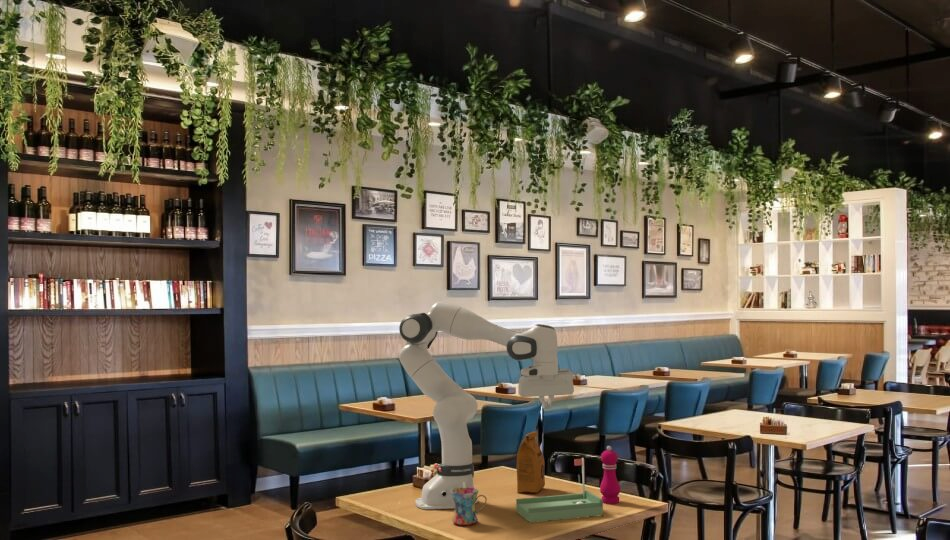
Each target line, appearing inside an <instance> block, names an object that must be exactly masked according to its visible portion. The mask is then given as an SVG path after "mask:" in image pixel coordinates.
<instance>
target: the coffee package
mask: <svg viewBox="0 0 950 540" xmlns="http://www.w3.org/2000/svg"><path fill="white" fill-rule="evenodd" d="M537 436H538V432H536V431H532V432H529V433H527V434H525V436H524V439H522V441H521V443H520V445H519V448H518V450H517V454H516V455H517V456H516V481H517V483H516V484H517V485H516V489H517V490H516V492H517V493H518V494H519V493H520V494H521V493H522V494H524V493H525V494H528V492H529V494H530V493H531V494H534V493H538V492H540V491H542V490H543V489H544V488H545V485H546V477H545V458H544V454H543V451H542V450H541V448H540V446H539V445H538V442H537V440H536V438H535V437H537Z"/></svg>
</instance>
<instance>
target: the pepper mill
mask: <svg viewBox="0 0 950 540" xmlns="http://www.w3.org/2000/svg"><path fill="white" fill-rule="evenodd" d="M618 459H619V458H618V454H617V452H616V451H614V450H612V446H611V445H607V446H606V450H604V451H603V452H602V453H601V455H600V460H601V462H602V469H603V477H602V480H601V482H600V486H599V487H600V488H599V492H600V493H601V495H602V496H601V499H603V504H605V503H606V505H616V504H619V503H620V496H619V495H620V493H621V486H620V483H619V481H618V478H617V475H616V469H617V468H618V467H617V462H618Z"/></svg>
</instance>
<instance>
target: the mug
mask: <svg viewBox="0 0 950 540" xmlns="http://www.w3.org/2000/svg"><path fill="white" fill-rule="evenodd" d="M450 492H451V494H452V497H453V500H454V505H455V508H454V514H453V518H452V519H451V521H452V523H453V524H456V525H459V526H460V525H461V526H469V525H473V524H476V523H477V522H478V520H479V519H478V517H477V516H478V515H479V513H478V512H479V511H480V510H482V509H483V508H484V507H485V506H486V503H487V496H485V495H484V494H480V495H478V493H479V489H477V488H475V487H474V488H468V487H464V488H455V489H452V490H451V491H450ZM480 497H483V498H484V503H483V505H482V506H481V507H480V508H478V509H476V503H475V501H477V502H478V498H480Z"/></svg>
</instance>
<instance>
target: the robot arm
mask: <svg viewBox="0 0 950 540" xmlns="http://www.w3.org/2000/svg"><path fill="white" fill-rule="evenodd" d="M398 328H399V334H400V336H401V338H402V339H403V340H404V341H405V342H406V343H405V345H404V346H403V347H402V348H401V350H400V352H399V355H398V357H399V361H400V363H401V365H402V367H403V368H404V371H405V372H406V373H407V375H408V376H409V378H410V379H411V380H412V381H413V382H414V384H415V385H416V386H417V387H418V388H419V390H420V391H421V392H422V394H423V395H424V396H425V397H428V398H429V399H431V400H432V401H434V403H436V404H435V406H434V407H433V411H432V414H433V415H432V416H433V419H434V421H435V422H436V424H437V426H438V427H437V429H438V433H439V436H440V441H441V443H440V444H441V463H440V464H438V463H434V464H433V469H434V470H436V474H435V475H434V476H433V477H432V478H430V480H428V481H427V482H426V483H425V484H423V487H422V488H421V496H420V497H418V498H416V499H415V503H414V504H415V505H416V507H417V508H419V509H422V510H443V509H444V510H446V509H447V510H448V509H452V510H453V509H455V505H454V500H453V497H452V494H451V492H450V491H451V490H452V489H455V488H464V487H468V488H475V484H474V483H475V482H474V477H475V465H474V462H473V442H472V439H471V438H470V435H469V431H468V426H467V425H468V424H467V422H469V421H470V420H472V419H473V417H474V416H475V415H476V413H477V412H478V409H479V408H478V407H479V406H478V404H479V403H478V401H477V399H476V398H475V396H474V395H472V394H470V393H469V392H467V391H466V390H465V389H464V388H463V387H461V386H460V385H459V384H458V383H457V382H456V381H455V380H453V379H452V378H451V377H450V376H449V375H448V374H447V373H446V371H444V369H443V368H442V367H441V366H440V364H439V363H438V362H437V361H436V360H435V358H434V357H433V356H432V354H430V351H429V350H428V349H430V348H431V345H432V343H433V342H435V341H434V340H436V338H437V336H438V332H443V333H445V334H448V335H450V336H453V337H456V338H458V339H463V340H467V341H468V340H469V341H472V340H473V341H474V340H475V341H476V340H484V341H491V342H493V343H496V344H498V345H501V346H504V347H506V352H507V354H508V356H509V357H510V358H511V359H513V360H515V361H519V362H521V361H527V360H531V359H532V361H533V364H532V365H528V366H526V367H524V368H521V370H520V375H521V376H520V377H519V380H518V386H517V387H518V391H517V392H518V396H520V397H522V398H532V397H533V398H534V397H538V400H539V401H540V403H541V407H542V409H544V410H546V409H548V410H549V409H552V403H553V402H554V400H555V396H566V395H567V396H571V395H573V394H574V393H575V387H574V381H573V379H574V373H573V370H572V369H569V368H559V359H558V356H557V355H558V354H557V353H558V349H559V347H558V345H559V344H558V338H557V337H558V335H557V334H558V333H557V331H556V329H555V328H554V327H553V326H552V325H547V324H542V323H540V324H539V323H537V324H535V325H534V326H532V327H531V328H529V329H527V330H525V331H522V332H518V331H514V330H511V329H508V328H506V327H503V326H501V325H497V324H495V323H493V322H490V321H489V320H487V319H486V318H484V317H483V316H480V315H478V314H477V313H475V312H473V311H472V310H469V309H467V308H465V307H462V306H459V305H457V304H453V303H450V302H445V301H437V302H435V303H434V304H433V305H431V307H430V308H429V311H428V312H427V313H426V312H419V313H412V314H409V315H407V316H405V317H404V318H403V319H402V320H401V322H400V324H399V326H398ZM547 396H548V399H549V400H548V402H545V401H544V399H545V397H547ZM477 503H478V500H477V501H475V504H477Z"/></svg>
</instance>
